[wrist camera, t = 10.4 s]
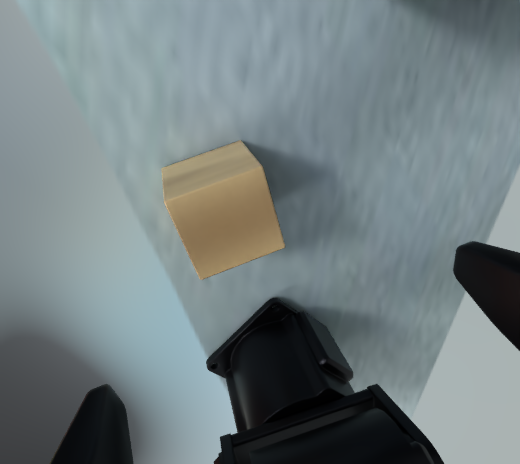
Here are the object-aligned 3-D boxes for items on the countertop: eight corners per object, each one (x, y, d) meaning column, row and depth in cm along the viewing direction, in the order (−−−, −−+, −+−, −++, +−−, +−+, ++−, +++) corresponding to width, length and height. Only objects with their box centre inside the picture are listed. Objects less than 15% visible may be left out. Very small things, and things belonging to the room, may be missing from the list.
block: (262, 210, 19) (286, 247, 16) (191, 236, 19) (200, 280, 16) (241, 139, 17) (263, 165, 14) (160, 168, 17) (163, 201, 14)
